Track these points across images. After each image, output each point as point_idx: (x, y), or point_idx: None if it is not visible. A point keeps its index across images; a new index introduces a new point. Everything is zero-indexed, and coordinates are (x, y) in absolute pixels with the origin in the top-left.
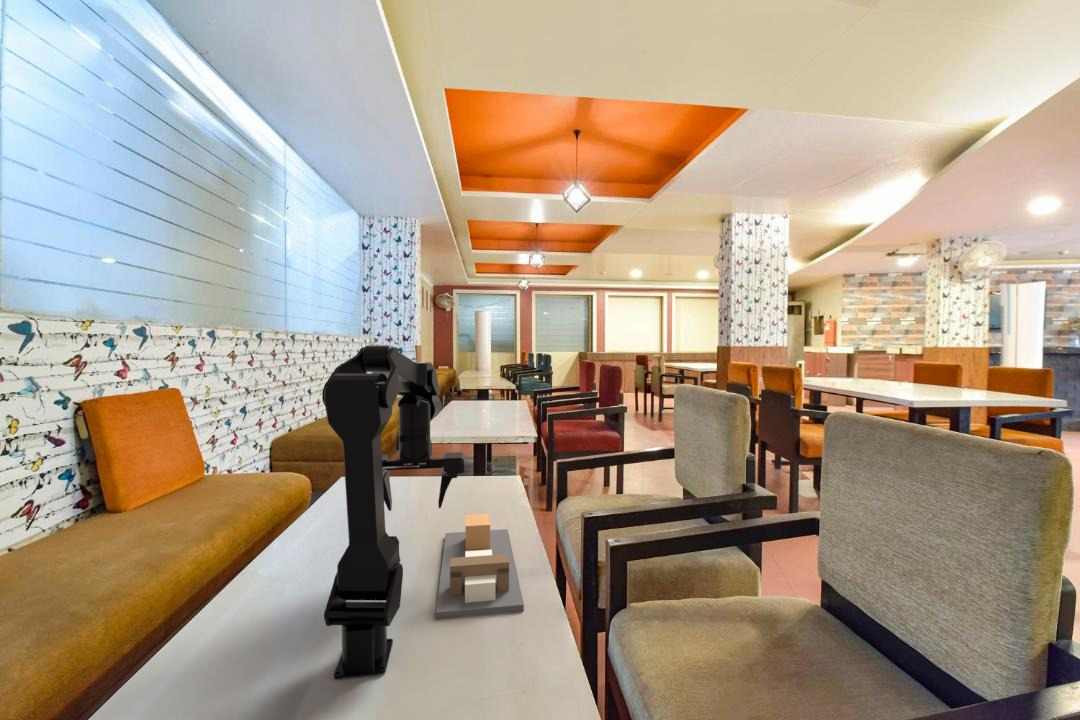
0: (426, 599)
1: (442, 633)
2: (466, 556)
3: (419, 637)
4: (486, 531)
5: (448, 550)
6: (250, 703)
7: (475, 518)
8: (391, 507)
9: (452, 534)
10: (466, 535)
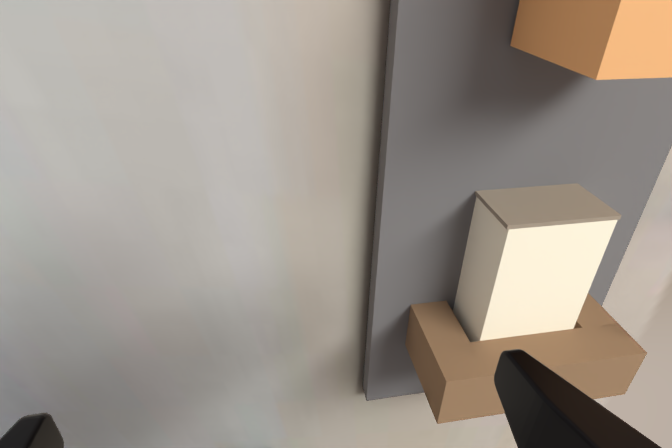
0: (332, 323)
1: (377, 420)
2: (502, 269)
3: (328, 431)
4: None
5: (423, 23)
6: None
7: None
8: (46, 439)
9: None
10: (561, 64)
